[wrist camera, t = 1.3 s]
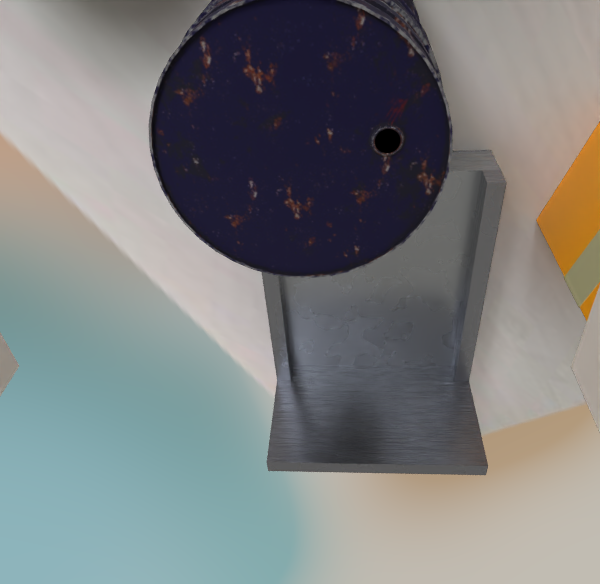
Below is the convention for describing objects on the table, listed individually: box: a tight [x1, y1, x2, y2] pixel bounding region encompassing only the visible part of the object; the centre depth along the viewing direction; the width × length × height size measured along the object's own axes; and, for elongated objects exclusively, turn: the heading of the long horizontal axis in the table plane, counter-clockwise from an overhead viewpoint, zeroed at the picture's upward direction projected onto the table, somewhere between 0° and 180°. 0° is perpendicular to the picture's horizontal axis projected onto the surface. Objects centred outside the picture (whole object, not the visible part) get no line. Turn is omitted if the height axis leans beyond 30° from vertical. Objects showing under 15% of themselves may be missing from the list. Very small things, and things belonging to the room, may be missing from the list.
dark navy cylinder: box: [149, 0, 452, 278], centre depth 23 cm, size 10×10×15 cm
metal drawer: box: [262, 150, 506, 475], centre depth 34 cm, size 17×14×11 cm
